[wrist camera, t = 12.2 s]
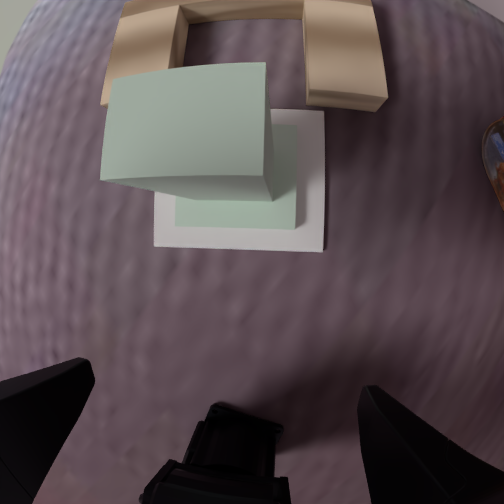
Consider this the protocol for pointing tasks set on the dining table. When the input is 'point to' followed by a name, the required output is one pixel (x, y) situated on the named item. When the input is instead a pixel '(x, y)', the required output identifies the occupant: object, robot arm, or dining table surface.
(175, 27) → the stand
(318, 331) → the dining table surface
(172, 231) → the mat
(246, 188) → the mint green pillar
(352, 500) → the dining table surface
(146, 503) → the robot arm
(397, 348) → the dining table surface
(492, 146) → the tin
